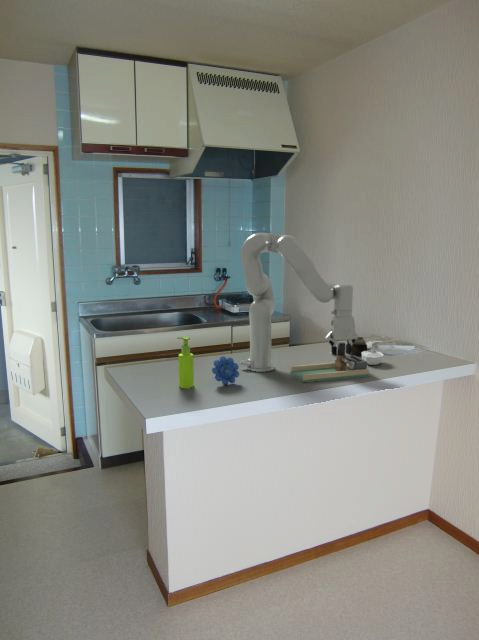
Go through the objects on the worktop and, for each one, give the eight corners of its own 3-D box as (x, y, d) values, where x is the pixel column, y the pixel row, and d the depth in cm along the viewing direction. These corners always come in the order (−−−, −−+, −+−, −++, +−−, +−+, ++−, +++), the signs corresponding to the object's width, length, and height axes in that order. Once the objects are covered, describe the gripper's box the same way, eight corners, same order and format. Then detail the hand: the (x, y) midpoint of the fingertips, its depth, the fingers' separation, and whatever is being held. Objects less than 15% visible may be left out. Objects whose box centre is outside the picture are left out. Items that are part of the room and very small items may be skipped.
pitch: (303, 382, 208) (303, 375, 208) (290, 373, 222) (290, 366, 221) (368, 376, 217) (368, 369, 216) (352, 367, 230) (352, 360, 230)
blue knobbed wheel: (215, 389, 200) (215, 360, 198) (210, 384, 206) (209, 355, 204) (243, 386, 204) (243, 357, 202) (237, 381, 211) (237, 353, 208)
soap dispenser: (184, 382, 209) (183, 334, 205) (196, 385, 205) (196, 337, 201) (174, 385, 205) (173, 337, 201) (186, 389, 200) (185, 339, 196)
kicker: (348, 377, 211) (349, 349, 209) (327, 364, 229) (327, 338, 227) (355, 376, 212) (356, 348, 210) (333, 364, 230) (334, 338, 228)
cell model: (359, 366, 232) (360, 352, 231) (362, 359, 244) (362, 346, 242) (382, 368, 229) (383, 354, 228) (384, 361, 240) (384, 347, 239)
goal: (355, 374, 217) (355, 360, 216) (342, 367, 227) (343, 354, 226) (366, 372, 218) (367, 359, 217) (353, 366, 229) (354, 353, 227)
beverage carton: (362, 347, 268) (363, 335, 266) (367, 357, 249) (367, 344, 248) (347, 347, 269) (348, 335, 267) (350, 356, 250) (351, 343, 249)
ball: (350, 373, 220) (348, 364, 219) (346, 370, 224) (343, 362, 223) (358, 369, 221) (356, 361, 220) (353, 366, 225) (351, 358, 223)
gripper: (328, 315, 210) (326, 358, 213) (365, 313, 215) (363, 355, 218) (320, 312, 217) (319, 353, 220) (356, 310, 222) (354, 351, 225)
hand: (341, 354), depth 219 cm, fingers open, 6 cm apart
